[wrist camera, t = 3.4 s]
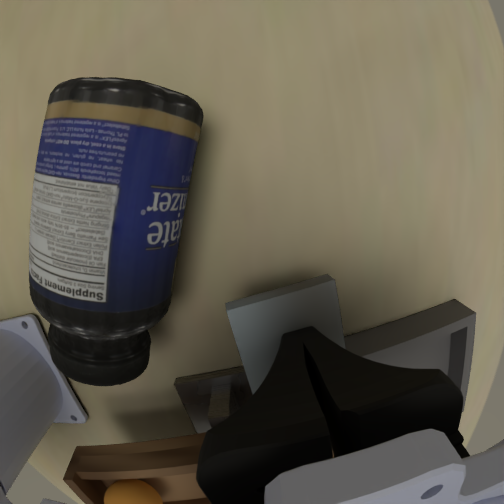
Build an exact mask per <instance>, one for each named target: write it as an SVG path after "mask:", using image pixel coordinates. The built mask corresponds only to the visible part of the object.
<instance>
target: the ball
mask: <svg viewBox="0 0 504 504" xmlns="http://www.w3.org/2000/svg"><path fill="white" fill-rule="evenodd" d="M104 504H163V501H162V499H161V496H160V495H159V493H158V492H157V491H156V490H155V489H154V488H153V487H152V486H151V485H149V484H147V483H146V482H143V481H141V480H138V479H121V480H118V481H116V482H114V483H113V484H111V485H110V486H109V487H108V489H107V491H106V493H105V496H104Z"/></svg>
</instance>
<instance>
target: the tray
mask: <svg viewBox="0 0 504 504" xmlns="http://www.w3.org/2000/svg"><path fill="white" fill-rule="evenodd" d="M475 322H476V312H474V311H473V310H471V309H469V308H468V307H466V306H465V305H463V304H462V303H460V302H459V301H457V300H456V299H454V300H451V301H449V302H446V303H443V304H441V305H438V306H436V307H433V308H430V309H428V310H425V311H422V312H419V313H417V314H414V315H411V316H408V317H405V318H402V319H399V320H397V321H394V322H391V323H388V324H385V325H381V326H378V327H375V328H372V329H369V330H366V331H363V332H359V333H356V334H353V335H349V336H346V337H344V341H345V348H346V350H348V351H350V352H352V353H354V354H356V355H358V356H361V357H364V358H366V359H369V360H372V361H375V362H379V363H383V364H387V365H391V366H397V367H404V368H413V369H440V370H441V371H443V372H444V373H445V374H446V375H447V376H448V377H449V378H450V379H451V380H452V381H453V382H454V383H455V384H456V385H457V387H458V388H459V389H460V390H461V392H462V395H463V409H462V412H463V410H464V406H465V400H466V395H467V389H468V384H469V377H470V370H471V363H472V355H473V346H474V335H475Z"/></svg>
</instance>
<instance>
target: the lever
mask: <svg viewBox="0 0 504 504" xmlns="http://www.w3.org/2000/svg"><path fill="white" fill-rule="evenodd" d="M225 304H226V311H227V315H228V318H229V321H230V324H231V328H232V331H233V334H234V337H235V341H236V344H237V347H238V350H239V353H240V357H241V360H242V363H243V366H244V369H245V372H246V375H247V378H248V381H249V384H250V387H251V390H252V394H254V393H255V392H256V390H257V389H258V388H259V386H260V385H261V384H262V382H263V381H264V379H265V377H266V376H267V374H268V372H269V370H270V368H271V366H272V364H273V362H274V360H275V357H276V355H277V352H278V349H279V346H280V343H281V337H282V335H283V334H284V333H287V332H291V331H295V330H298V329H302V328H306V327H309V326H313V327H315V328H316V329H317V330H318V331H320V332H321V333H322V334H323V335H325V336H326V337H327V338H329V339H330V340H332V341H333V342H335V343H336V344H338V345H339V346H341V347H343V348H344V349H346V348H345V341H344V334H343V327H342V320H341V313H340V307H339V301H338V295H337V289H336V283H335V279H334V278H332V277H331V276H330V275H328V274H325V275H322V276H319V277H315V278H312V279H309V280H305V281H302V282H298V283H295V284H291V285H288V286H285V287H281V288H278V289H274V290H270V291H267V292H263V293H260V294H256V295H253V296H249V297H245V298H242V299H238V300H234V301H231V302H227V303H225ZM205 435H206V432H204V433H198V434H193V435H187V436H181V437H174V438H168V439H161V440H153V441H145V442H135V443H125V444H113V445H97V446H77V447H76V449H75V451H74V454H73V456H72V458H71V461H70V463H69V466H68V468H67V471H66V473H65V475H64V478H63V480H64V481H65V483H66V484H67V485H68V486H69V487H70V488H71V489H72V490H73V491H74V492H75V493H76V495H77V496H78V497H79V498H80V499H81V500H82V501H83V502H84V503H85V504H104V496H105V493H106V491H107V489H108V487H109V486H110V485H111V484H113V483H114V482H116V481H118V480H121V479H138V480H141V481H143V482H146V483H147V484H149V485H151V486H152V487H153V488H154V489H155V490H156V491H157V492H158V493H159V495H160V496H161V499H162V501H163V504H211V503H210V501H209V500H208V499H207V497H206V496H205V494H204V493H203V491H202V490H201V489H200V487H199V485H198V483H197V480H196V472H197V465H198V458H199V453H200V449H201V446H202V443H203V440H204V437H205ZM332 453H333V451H332ZM333 458H334V455H333Z"/></svg>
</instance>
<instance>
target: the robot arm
mask: <svg viewBox="0 0 504 504" xmlns="http://www.w3.org/2000/svg"><path fill="white" fill-rule="evenodd" d="M25 322H26V323H27V325H28V326H27V325H26V323H25ZM462 409H463V395H462V392H461V390H460V389H459V388H458V387H457V385H456V384H455V383H454V382H453V381H452V380H451V379H450V378H449V377H448V376H447V375H446V374H445V373H444V372H443V371H441V370H440V369H413V368H404V367H397V366H391V365H387V364H383V363H379V362H375V361H372V360H369V359H366V358H364V357H361V356H358V355H356V354H354V353H352V352H350V351H348V350H346V349H344V348H343V347H341V346H339V345H338V344H336V343H335V342H333V341H332V340H330V339H329V338H327V337H326V336H325V335H323V334H322V333H321V332H320V331H318V330H317V329H316V328H315V327H313V326H309V327H306V328H302V329H298V330H295V331H291V332H287V333H284V334H283V335H282V337H281V343H280V346H279V349H278V352H277V355H276V357H275V360H274V362H273V364H272V366H271V368H270V370H269V372H268V374H267V376H266V377H265V379H264V381H263V382H262V384H261V385H260V386H259V388H258V389H257V390H256V392H255V393H254V394H253V395H252V396H251V397H250V399H249V400H248V401H247V402H246V403H245V404H244V405H243V406H241V407H240V408H239V409H238V410H237V411H236V412H234V413H233V414H232V415H231V416H229V417H228V418H227V419H225V420H224V421H222V422H221V423H219V424H217V425H216V426H214V427H213V428H211V429H209V430H208V431H207V432H206V435H205V437H204V440H203V443H202V446H201V449H200V453H199V458H198V465H197V472H196V480H197V483H198V485H199V487H200V489H201V490H202V491H203V493H204V494H205V496H206V497H207V499H208V500H209V501H210V503H211V504H504V439H503V440H502V441H500V442H499V443H497V444H496V445H494V446H493V447H491V448H489V449H487V450H486V451H484V452H481V453H478V454H475V455H472V456H470V455H469V453H468V452H467V450H466V449H465V448H464V446H463V445H462V443H463V441H464V439H463V436H462V435H461V433H460V432H459V431H458V427H459V423H460V419H461V414H462ZM87 419H88V417H87V414H86V413H85V411H84V410H83V408H82V406H81V405H80V403H79V401H78V399H77V398H76V396H75V394H74V393H73V391H72V389H71V387H70V385H69V384H68V382H67V380H66V378H65V376H64V374H63V373H62V372H61V371H59V369H57V367H56V366H55V365H54V363H53V361H52V359H51V355H50V347H49V344H48V342H47V340H46V337H45V335H44V333H43V331H42V328H41V326H40V324H39V321H38V319H37V318H36V317H35V316H34V315H32V314H28V315H24V316H19V317H15V318H11V319H6V320H2V321H0V504H12V503H11V502H10V501H9V499H7V497H6V494H7V492H8V490H9V489H10V488H11V486H12V484H13V482H14V481H15V479H16V478H17V476H18V475H19V473H20V471H21V470H22V468H23V467H24V465H25V464H26V462H27V461H28V459H29V457H30V456H31V454H32V453H33V451H34V450H35V448H36V447H37V445H38V444H39V442H40V441H41V439H42V438H43V436H44V435H45V433H46V432H47V430H48V429H49V427H50V426H51V424H52V423H85V422H86V421H87ZM332 451H333V453H332ZM333 455H334V458H333ZM40 504H65V503H61V502H57V501H53V500H49V499H43V500H42V502H41V503H40Z"/></svg>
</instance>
